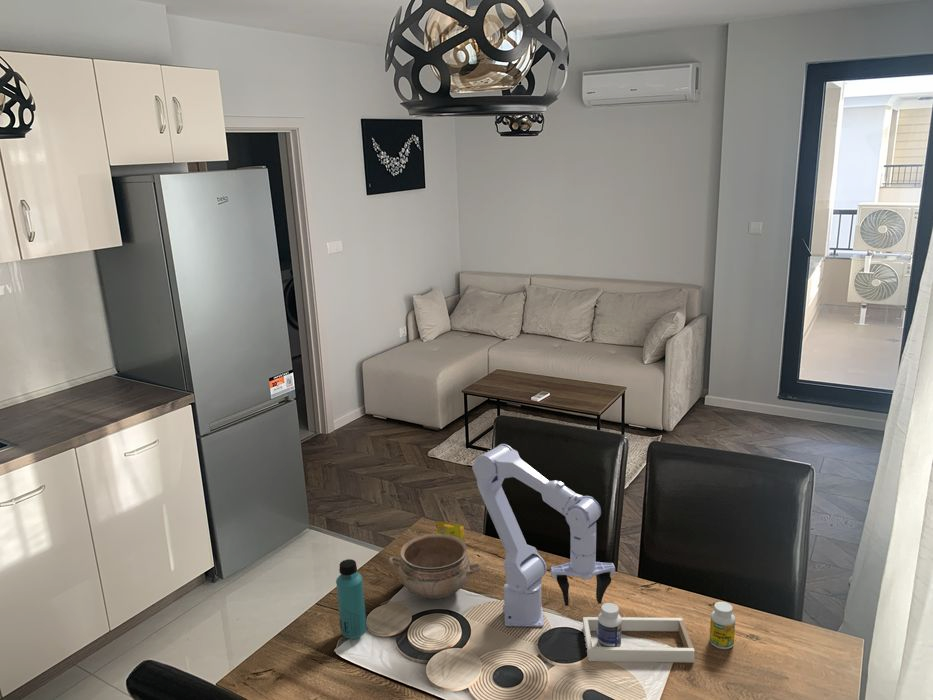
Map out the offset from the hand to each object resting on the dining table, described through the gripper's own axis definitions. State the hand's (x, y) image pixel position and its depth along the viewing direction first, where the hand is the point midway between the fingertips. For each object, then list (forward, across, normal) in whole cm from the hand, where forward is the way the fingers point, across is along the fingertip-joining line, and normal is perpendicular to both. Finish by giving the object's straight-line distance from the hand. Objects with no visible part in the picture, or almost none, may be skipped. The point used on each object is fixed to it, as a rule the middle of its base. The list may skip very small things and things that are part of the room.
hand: (582, 602), depth 164 cm
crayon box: (+11, -29, +41) cm, 51 cm away
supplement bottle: (+10, +32, -4) cm, 34 cm away
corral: (+10, +12, -3) cm, 16 cm away
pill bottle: (+10, +6, -2) cm, 12 cm away
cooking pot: (+11, -34, +24) cm, 43 cm away
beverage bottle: (+11, -54, +8) cm, 56 cm away
